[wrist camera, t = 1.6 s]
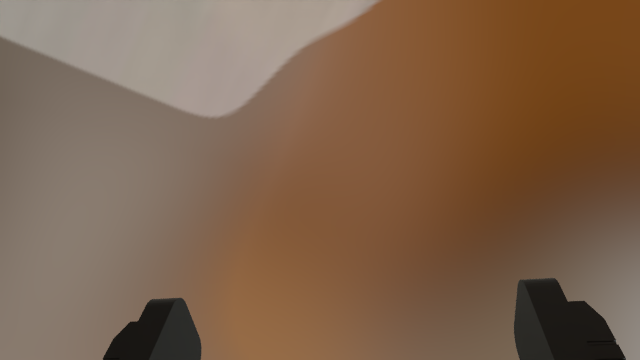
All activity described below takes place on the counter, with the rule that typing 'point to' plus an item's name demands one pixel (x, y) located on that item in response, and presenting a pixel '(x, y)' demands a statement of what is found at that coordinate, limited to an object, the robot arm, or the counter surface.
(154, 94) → the counter surface
